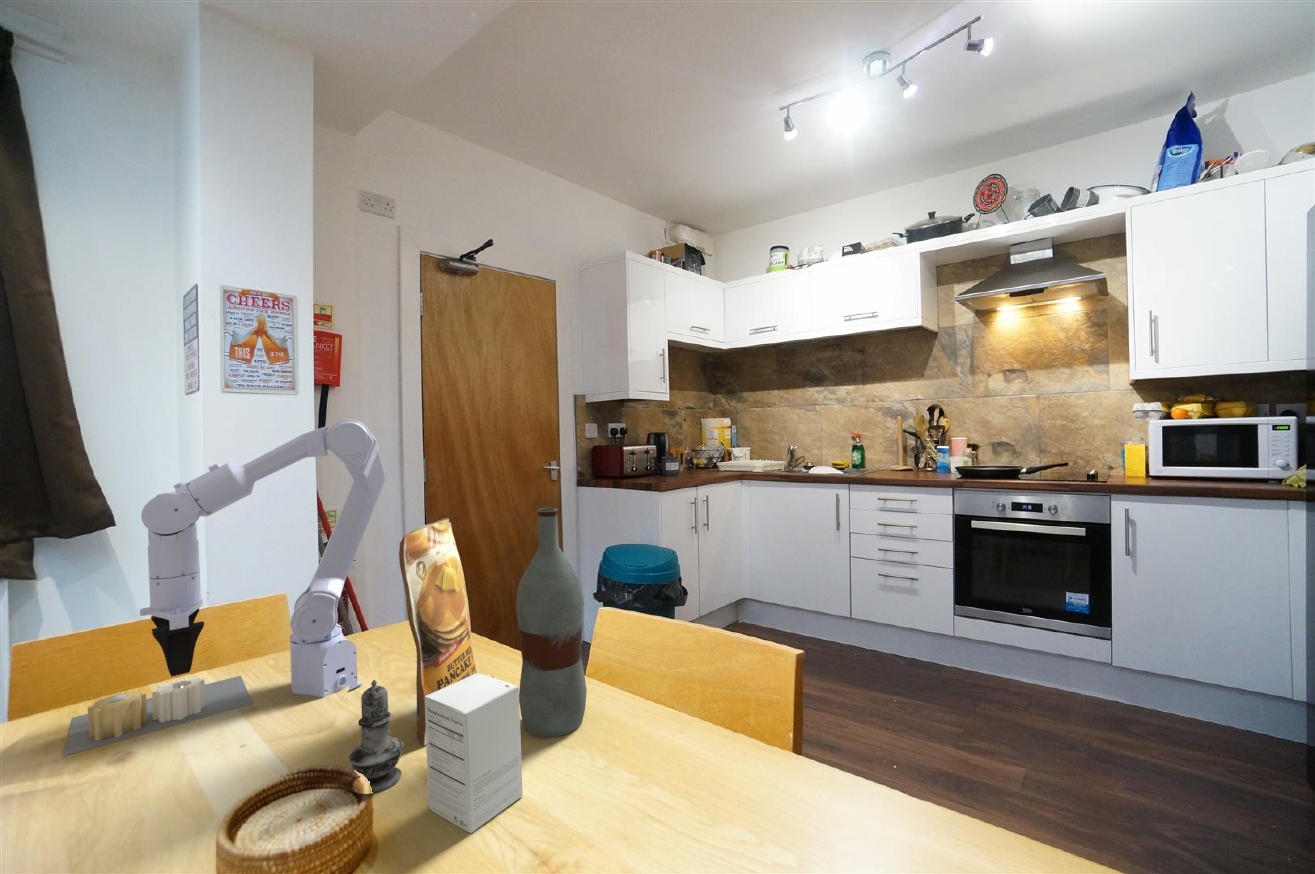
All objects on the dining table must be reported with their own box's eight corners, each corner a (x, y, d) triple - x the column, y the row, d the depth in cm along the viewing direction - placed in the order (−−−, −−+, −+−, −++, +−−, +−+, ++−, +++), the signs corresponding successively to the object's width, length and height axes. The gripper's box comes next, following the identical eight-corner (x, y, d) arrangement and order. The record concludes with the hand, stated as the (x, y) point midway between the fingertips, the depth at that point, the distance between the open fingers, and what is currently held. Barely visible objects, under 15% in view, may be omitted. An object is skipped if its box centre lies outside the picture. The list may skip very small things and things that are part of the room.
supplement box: (482, 776, 69) (478, 670, 69) (524, 797, 64) (521, 684, 64) (425, 810, 63) (422, 694, 62) (469, 836, 58) (465, 712, 58)
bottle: (518, 744, 75) (511, 515, 75) (520, 711, 84) (514, 506, 84) (590, 735, 77) (583, 511, 77) (585, 703, 86) (579, 503, 86)
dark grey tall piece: (413, 766, 71) (410, 669, 71) (386, 797, 65) (383, 691, 65) (368, 765, 72) (365, 669, 71) (337, 795, 66) (334, 690, 66)
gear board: (240, 681, 97) (239, 649, 97) (253, 709, 87) (251, 673, 87) (72, 724, 84) (71, 686, 84) (63, 763, 74) (61, 721, 74)
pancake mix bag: (386, 751, 74) (379, 535, 74) (452, 686, 93) (447, 513, 93) (436, 753, 74) (429, 535, 73) (493, 686, 93) (487, 513, 92)
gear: (195, 717, 83) (194, 689, 83) (145, 725, 81) (144, 696, 81) (210, 700, 88) (209, 674, 88) (165, 707, 87) (164, 680, 86)
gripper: (138, 571, 87) (142, 660, 87) (138, 588, 76) (142, 690, 77) (197, 562, 92) (201, 647, 92) (205, 578, 81) (209, 674, 81)
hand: (178, 666), depth 85 cm, fingers open, 7 cm apart
